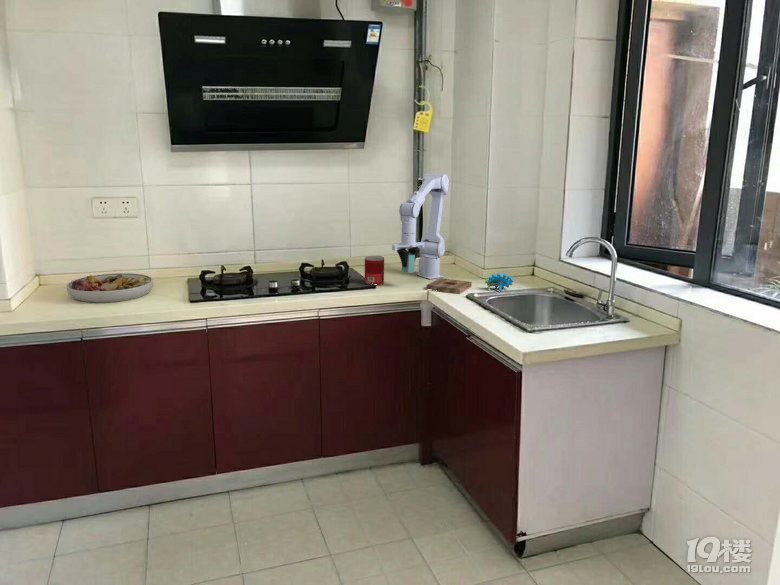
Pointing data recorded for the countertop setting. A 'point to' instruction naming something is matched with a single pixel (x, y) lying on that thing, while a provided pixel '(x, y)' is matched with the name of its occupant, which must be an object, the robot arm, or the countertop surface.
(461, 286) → the slot plate
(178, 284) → the countertop surface
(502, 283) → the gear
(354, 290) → the countertop surface
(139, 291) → the bowl
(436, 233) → the robot arm
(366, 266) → the canned food
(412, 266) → the post
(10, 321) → the countertop surface
